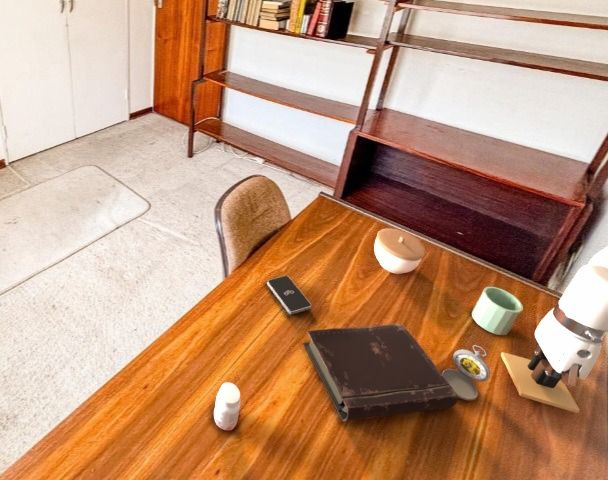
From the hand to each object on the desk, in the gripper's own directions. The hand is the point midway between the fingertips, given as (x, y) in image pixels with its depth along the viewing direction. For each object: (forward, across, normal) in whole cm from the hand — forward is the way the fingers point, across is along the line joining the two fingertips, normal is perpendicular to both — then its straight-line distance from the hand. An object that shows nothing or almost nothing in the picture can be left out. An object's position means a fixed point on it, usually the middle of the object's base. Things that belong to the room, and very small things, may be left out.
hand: (540, 377), depth 87 cm
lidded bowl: (+4, +30, +24) cm, 38 cm away
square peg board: (+2, 0, 0) cm, 2 cm away
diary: (+3, -10, +34) cm, 36 cm away
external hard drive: (+3, +5, +54) cm, 54 cm away
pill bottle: (+2, -31, +64) cm, 72 cm away
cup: (+4, +17, +2) cm, 17 cm away
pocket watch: (+3, -5, +16) cm, 17 cm away
